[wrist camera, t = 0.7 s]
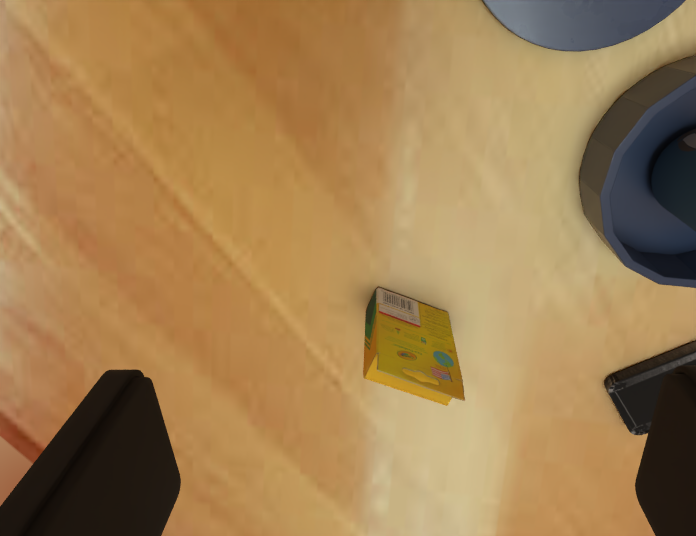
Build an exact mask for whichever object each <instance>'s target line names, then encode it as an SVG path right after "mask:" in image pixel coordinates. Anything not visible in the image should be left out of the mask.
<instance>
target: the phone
mask: <svg viewBox="0 0 696 536" xmlns="http://www.w3.org/2000/svg"><path fill="white" fill-rule="evenodd" d="M685 365H696V341H695V342H692V343H690V344H687V345H685V346H682V347H680V348H677V349H675V350H672V351H670V352H667V353H665V354H662V355H660V356H657V357H655V358H652V359H650V360H647V361H645V362H642V363H640V364H637V365H635V366H632V367H630V368H627V369H625V370H622V371H620V372H617V373H615V374H612V375H610V376H609V377H608V378H607V379H606V380H605V384H604V385H605V388H606V389H607V391H608V393H609V395H610V397H611V399H612V400H613V402H614V404H615V406H616V408H617V410H618V412H619V413H620V415H621V417H622V419H623V421H624V423H625V424H626V426H627V428H628V430H629V431H630V432H631V433H632V434H634V435H643V434H646V433H649V429H650V425H651V422H652V418H653V414H654V410H655V407H656V403H657V399H658V395H659V392H660V388H661V384H662V381H663V378H664V377H665V376H666V375H667V374H672V373H673V370H674V369H675V368H676V367H677V366H685Z"/></svg>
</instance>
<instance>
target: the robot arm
mask: <svg viewBox="0 0 696 536" xmlns="http://www.w3.org/2000/svg"><path fill="white" fill-rule="evenodd" d="M180 484H181V479H180V474H179V470H178V467H177V463H176V460H175V457H174V453H173V450H172V447H171V443H170V440H169V436H168V433H167V430H166V426H165V423H164V420H163V416H162V413H161V409H160V406H159V403H158V399H157V396H156V393H155V389H154V386H153V383H152V380H151V379H150V378H148V377H144V375H143V373H142V372H141V371H140V370H108V371H106V372H105V373H104V374H103V375H102V376H101V377H100V379H99V380H98V381H97V383H96V384H95V385H94V387H93V388H92V389H91V390H90V392H89V393H88V394H87V396H86V397H85V398H84V399H83V401H82V402H81V403H80V405H79V406H78V407H77V408H76V410H75V411H74V412H73V414H72V415H71V416H70V417H69V419H68V420H67V421H66V423H65V424H64V425H63V426H62V428H61V429H60V430H59V432H58V433H57V434H56V435H55V437H54V438H53V439H52V441H51V442H50V443H49V444H48V446H47V447H46V448H45V450H44V451H43V452H42V453H41V455H40V456H39V457H38V459H37V460H36V461H35V462H34V464H33V465H32V466H31V468H30V469H29V470H28V471H27V473H26V474H25V475H24V477H23V478H22V479H21V481H20V482H19V483H18V484H17V486H16V487H15V488H14V490H13V491H12V492H11V493H10V495H9V496H8V498H7V499H6V500H5V501H4V502H3V504H2V505H1V506H0V536H161V535H162V532H163V530H164V528H165V525H166V523H167V521H168V518H169V516H170V514H171V511H172V509H173V507H174V504H175V502H176V500H177V497H178V494H179V491H180ZM635 489H636V495H637V498H638V501H639V504H640V506H641V508H642V510H643V512H644V514H645V516H646V518H647V520H648V522H649V524H650V525H651V527H652V529H653V531H654V533H655V535H656V536H696V365H685V366H677V367H676V368H675V369H674V370H673V373H672V374H667V375H666V376H665V377H664V378H663V381H662V384H661V388H660V392H659V395H658V399H657V403H656V407H655V410H654V414H653V418H652V422H651V425H650V429H649V433H648V437H647V440H646V444H645V448H644V452H643V455H642V459H641V463H640V467H639V470H638V474H637V478H636V483H635Z"/></svg>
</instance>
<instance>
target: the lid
mask: <svg viewBox="0 0 696 536" xmlns="http://www.w3.org/2000/svg"><path fill="white" fill-rule="evenodd" d="M482 1H483V2H484V4H485V5H486V7H487V8H488V9H489V10H490V12H491V13H492V14H493V16H494V17H495V18H496V19H497V20H498V21H499V22H500V23H501V24H502V25H504V26H505V27H506V28H507V29H508V30H510V31H511V32H513V33H514V34H516V35H517V36H518V37H520V38H522V39H524V40H526V41H528V42H530V43H533V44H536V45H539V46H542V47H545V48H548V49H554V50H561V51H587V50H596V49H601V48H604V47H608V46H612V45H616V44H618V43H621V42H623V41H626V40H629V39H631V38H633V37H635V36H637V35H639V34H641V33H643V32H645V31H647V30H648V29H650V28H651V27H653V26H654V25H656V24H657V23H659V22H660V21H662V20H663V19H665V18H666V17H667V16H668V15H670V14H671V13H672V12H673V11H674V10H676V9H677V8H678V7H679V6H680V5H681V4H682V3H683V2H684V1H685V0H482Z"/></svg>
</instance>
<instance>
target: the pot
mask: <svg viewBox="0 0 696 536" xmlns="http://www.w3.org/2000/svg"><path fill="white" fill-rule="evenodd" d="M693 129H696V56H692V57H688V58H685V59H682V60H679V61H676V62H674V63H671V64H669V65H666V66H664V67H662V68H661V69H659V70H657V71H655V72H653V73H651V74H650V75H648V76H647V77H645V78H643V79H642V80H640V81H639V82H638V83H636V84H635V85H634V86H633V87H631V88H630V89H629V90H628V91H626V92H625V93H624V94H623V95H622V96H621V97H620V98H619V99H618V100H617V101H616V102H615V103H614V104H613V105H612V107H611V108H610V109H609V110H608V111H607V113H606V114H605V115H604V116H603V118H602V119H601V121H600V122H599V124H598V125H597V127H596V129H595V130H594V132H593V134H592V136H591V138H590V140H589V142H588V145H587V148H586V150H585V153H584V156H583V160H582V165H581V169H580V178H579V179H580V180H579V185H580V197H581V202H582V206H583V210H584V214H585V216H586V218H587V219H588V221H589V222H590V224H591V225H592V227H593V228H594V229H595V231H596V232H597V233H598V235H599V236H600V238H601V239H602V241H603V242H604V243H605V244H606V245H607V246H608V248H609V249H610V250H611V251H612V252H613V253H614V254H615V255H616V257H617V258H618V259H619V260H620V261H621V262H622V263H623V264H624V265H625V266H626V267H627V268H629V269H631V270H633V271H635V272H637V273H639V274H641V275H642V276H644V277H646V278H648V279H650V280H652V281H654V282H656V283H658V284H662V285H672V286H683V287H693V288H696V232H695V231H694V230H693V229H691V228H690V227H689V226H687V225H686V224H685V223H683V222H682V221H681V220H679V219H678V218H677V217H675V216H674V215H673V214H671V213H670V212H669V211H667V210H666V209H665V208H664V207H662V206H661V205H660V204H659V203H658V201H657V200H656V198H655V196H654V194H653V191H652V185H651V178H652V172H653V168H654V165H655V163H656V161H657V159H658V157H659V155H660V154H661V152H662V151H663V150H664V149H665V148H666V147H667V146H668V145H669V144H670V143H671V142H672V141H674V140H675V139H676V138H678V137H679V136H681V135H683V134H684V133H686V132H688V131H691V130H693Z"/></svg>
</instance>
